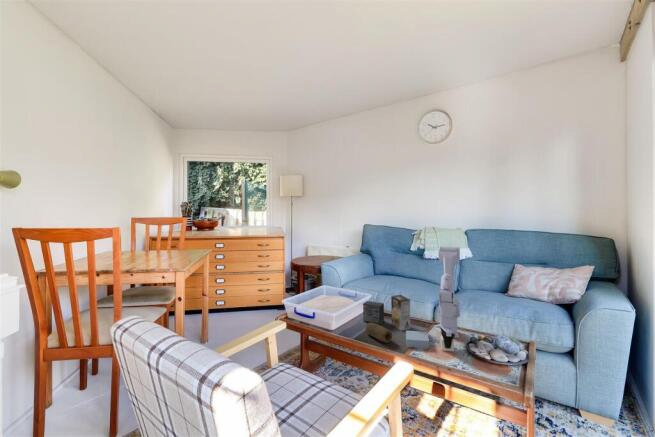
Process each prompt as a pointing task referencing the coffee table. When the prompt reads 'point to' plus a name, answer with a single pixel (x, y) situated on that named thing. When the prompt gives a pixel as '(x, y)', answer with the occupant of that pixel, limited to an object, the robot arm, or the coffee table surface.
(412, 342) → the base block
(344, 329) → the coffee table surface
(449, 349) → the cube
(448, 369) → the coffee table surface
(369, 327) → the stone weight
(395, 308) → the coffee box
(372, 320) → the small box
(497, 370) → the coffee table surface
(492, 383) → the coffee table surface
